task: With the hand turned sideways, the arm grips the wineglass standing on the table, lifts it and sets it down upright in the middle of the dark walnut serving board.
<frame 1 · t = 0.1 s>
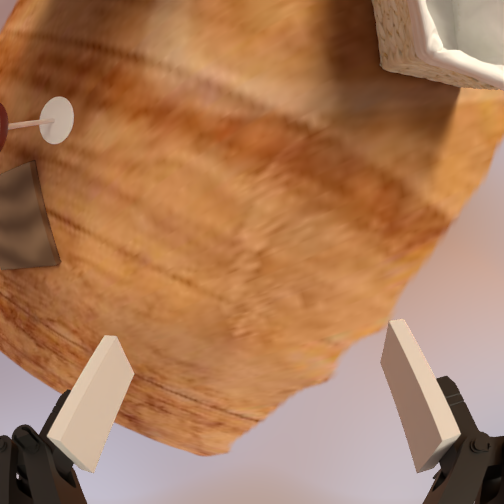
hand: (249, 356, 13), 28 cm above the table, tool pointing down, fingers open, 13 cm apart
wineglass: (56, 120, 35), on the table
storage basket: (417, 12, 26), on the table
walnut board: (15, 219, 42), on the table
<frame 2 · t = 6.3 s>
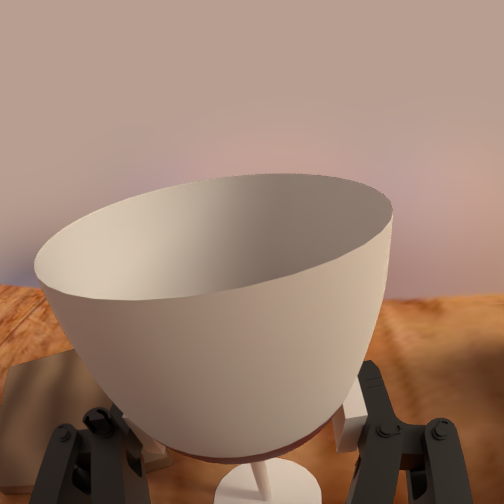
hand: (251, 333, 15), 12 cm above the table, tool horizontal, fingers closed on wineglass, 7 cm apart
wineglass: (267, 500, 15), on the table, touching gripper
walnut board: (69, 414, 22), on the table
when the fingers open (14 cm above the table, at t = 11.5 s): wineglass moves 3 cm, resting on walnut board.
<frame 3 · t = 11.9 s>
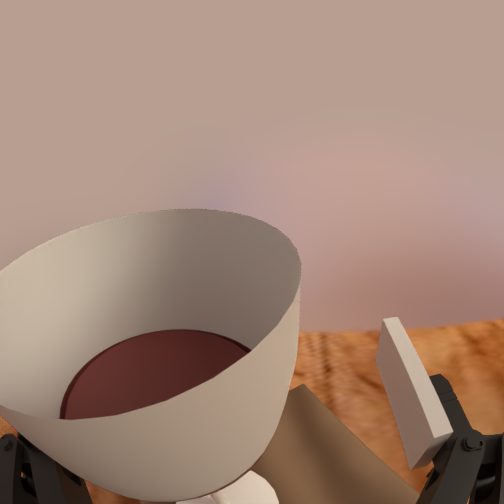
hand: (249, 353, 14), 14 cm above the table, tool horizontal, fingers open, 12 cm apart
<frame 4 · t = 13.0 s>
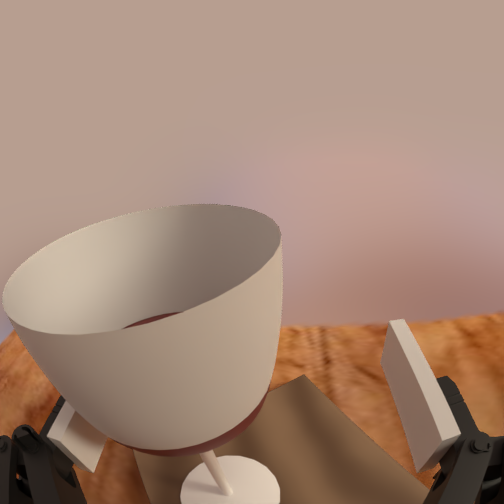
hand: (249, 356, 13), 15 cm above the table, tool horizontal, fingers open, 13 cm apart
wineglass: (229, 495, 17), point 1 cm above the table, touching gripper, walnut board
walnut board: (271, 494, 18), on the table
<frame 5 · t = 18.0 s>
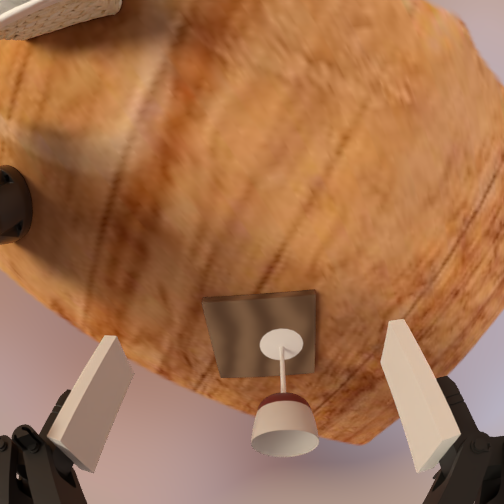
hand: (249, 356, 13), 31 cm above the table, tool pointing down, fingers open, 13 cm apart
wineglass: (281, 344, 51), point 1 cm above the table, touching walnut board
walnut board: (263, 336, 52), on the table
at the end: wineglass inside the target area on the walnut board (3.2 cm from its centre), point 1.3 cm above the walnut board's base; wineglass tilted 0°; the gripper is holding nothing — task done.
